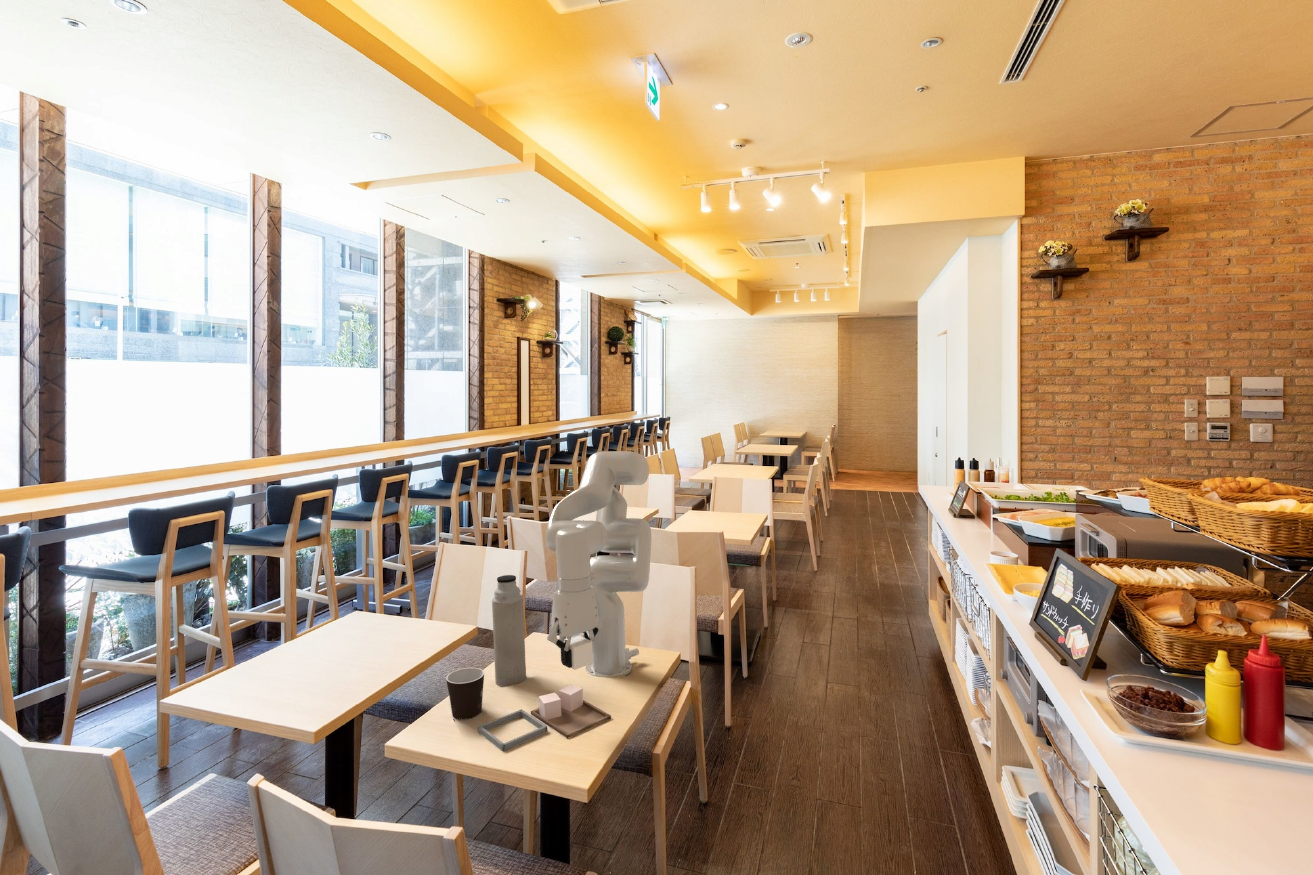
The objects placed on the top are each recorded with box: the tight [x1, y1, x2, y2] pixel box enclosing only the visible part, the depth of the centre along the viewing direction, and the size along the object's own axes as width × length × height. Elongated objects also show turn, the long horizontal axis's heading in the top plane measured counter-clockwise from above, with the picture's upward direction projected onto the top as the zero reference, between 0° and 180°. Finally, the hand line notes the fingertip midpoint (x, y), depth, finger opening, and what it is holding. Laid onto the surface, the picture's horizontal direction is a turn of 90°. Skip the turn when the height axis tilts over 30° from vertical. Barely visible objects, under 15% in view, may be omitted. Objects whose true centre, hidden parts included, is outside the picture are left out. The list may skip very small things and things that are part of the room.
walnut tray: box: [530, 699, 612, 739], centre depth 147 cm, size 12×15×2 cm
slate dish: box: [477, 708, 548, 752], centre depth 141 cm, size 11×11×2 cm
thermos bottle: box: [491, 574, 527, 688], centre depth 168 cm, size 8×8×28 cm
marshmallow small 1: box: [558, 684, 584, 711], centre depth 152 cm, size 4×4×4 cm
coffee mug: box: [445, 667, 485, 722], centre depth 152 cm, size 12×9×10 cm
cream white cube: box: [564, 635, 593, 671], centre depth 144 cm, size 5×5×5 cm
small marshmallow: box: [538, 692, 561, 720], centre depth 148 cm, size 4×4×4 cm
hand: (577, 661), depth 144 cm, fingers closed on cream white cube, 4 cm apart
